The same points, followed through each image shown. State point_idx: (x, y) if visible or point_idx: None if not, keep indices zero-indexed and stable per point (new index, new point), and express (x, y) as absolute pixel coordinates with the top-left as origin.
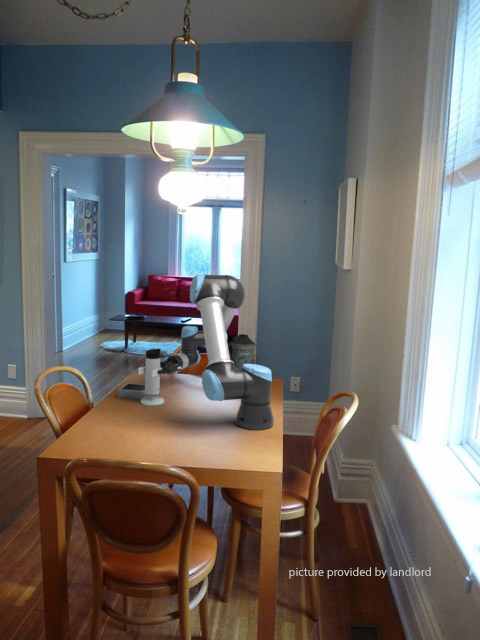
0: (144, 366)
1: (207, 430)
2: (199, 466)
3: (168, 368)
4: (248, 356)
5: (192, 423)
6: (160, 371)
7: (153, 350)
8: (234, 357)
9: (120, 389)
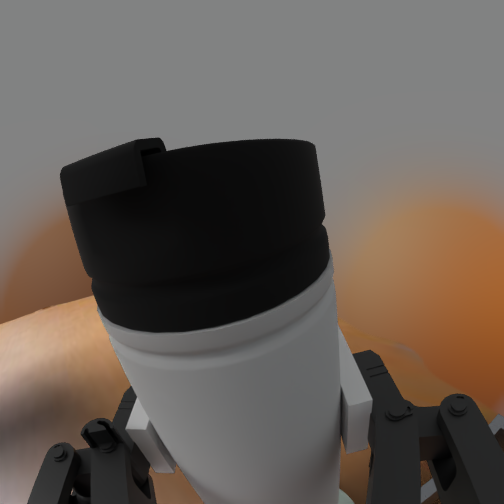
0: (342, 350)
1: (4, 398)
2: (30, 314)
3: (57, 449)
4: None
5: (33, 419)
6: (127, 396)
7: (252, 168)
8: None
9: (497, 425)
